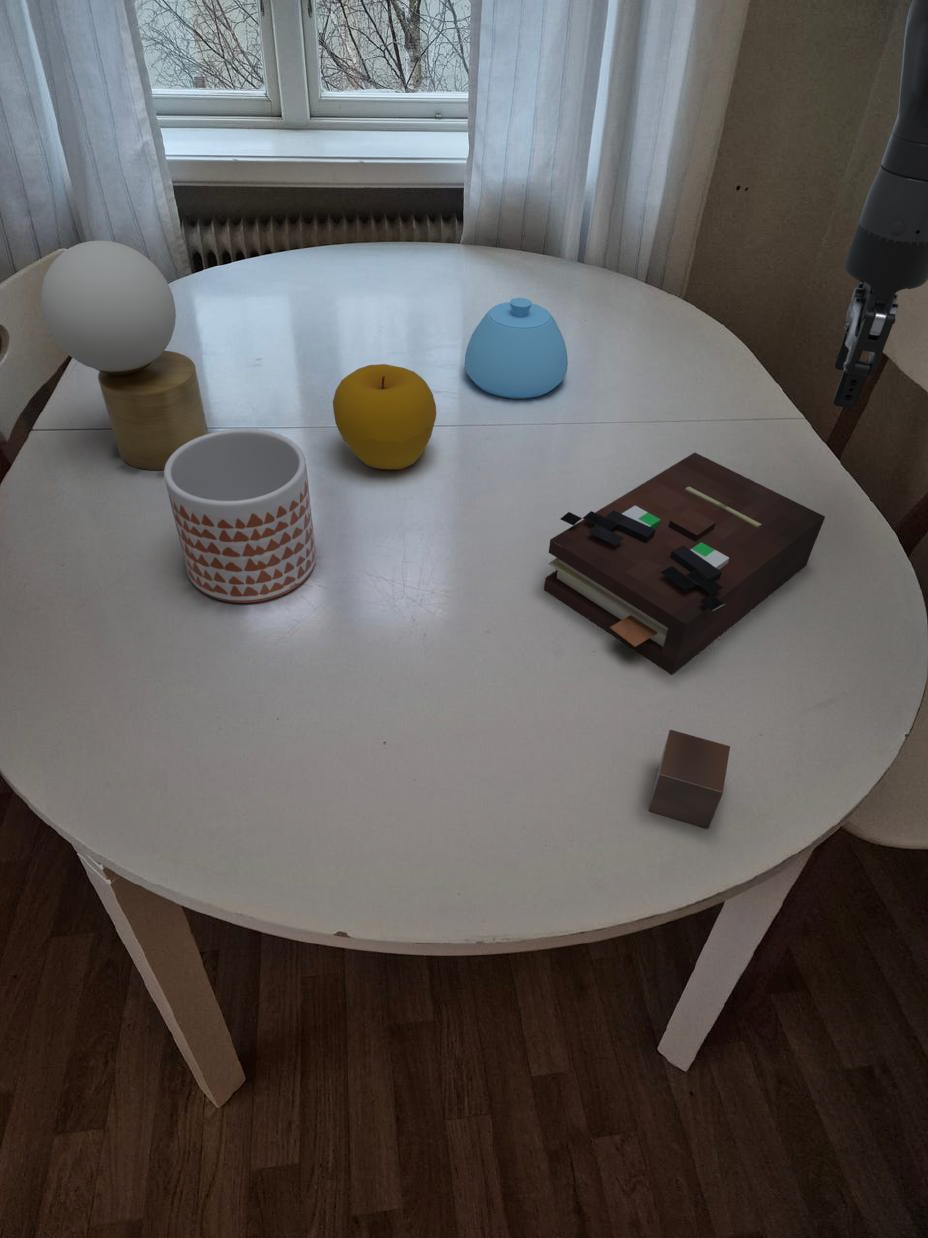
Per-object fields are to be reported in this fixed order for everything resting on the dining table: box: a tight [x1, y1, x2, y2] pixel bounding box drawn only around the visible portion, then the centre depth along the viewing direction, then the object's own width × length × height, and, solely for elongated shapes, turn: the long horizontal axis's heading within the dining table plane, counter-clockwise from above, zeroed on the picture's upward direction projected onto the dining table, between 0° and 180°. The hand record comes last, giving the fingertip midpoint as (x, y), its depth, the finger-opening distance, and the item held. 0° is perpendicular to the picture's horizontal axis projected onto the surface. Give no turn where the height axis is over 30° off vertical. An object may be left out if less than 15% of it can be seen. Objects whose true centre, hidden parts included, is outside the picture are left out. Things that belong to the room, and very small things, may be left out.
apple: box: [332, 363, 437, 470], centre depth 106 cm, size 13×13×11 cm
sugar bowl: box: [464, 297, 569, 400], centre depth 123 cm, size 15×15×12 cm
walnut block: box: [648, 729, 731, 830], centre depth 71 cm, size 5×5×5 cm
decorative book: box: [543, 452, 826, 676], centre depth 92 cm, size 19×8×30 cm
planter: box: [163, 428, 317, 604], centre depth 89 cm, size 14×14×13 cm
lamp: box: [40, 240, 209, 471], centre depth 102 cm, size 15×14×25 cm
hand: (843, 386), depth 89 cm, fingers open, 8 cm apart
